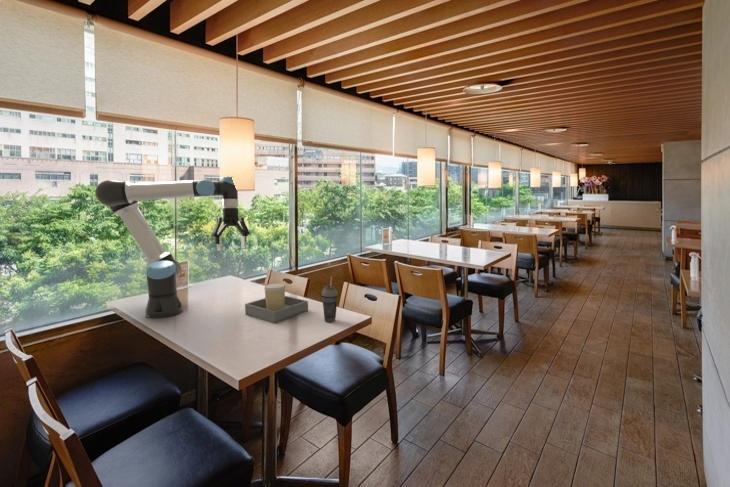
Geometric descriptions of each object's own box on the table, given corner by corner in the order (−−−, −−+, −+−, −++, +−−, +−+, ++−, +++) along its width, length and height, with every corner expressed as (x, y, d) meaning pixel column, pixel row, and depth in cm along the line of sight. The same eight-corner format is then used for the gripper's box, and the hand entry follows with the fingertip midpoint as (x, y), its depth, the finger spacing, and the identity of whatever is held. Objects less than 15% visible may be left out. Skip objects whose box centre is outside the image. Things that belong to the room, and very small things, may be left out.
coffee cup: (288, 308, 178) (287, 283, 176) (282, 314, 168) (281, 288, 167) (269, 307, 179) (268, 282, 177) (262, 313, 169) (261, 287, 168)
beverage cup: (329, 317, 168) (329, 273, 165) (341, 320, 164) (341, 275, 161) (318, 321, 163) (317, 276, 160) (330, 325, 158) (329, 278, 155)
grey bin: (275, 323, 160) (274, 312, 159) (245, 314, 171) (244, 304, 171) (308, 311, 176) (307, 301, 175) (278, 303, 188) (278, 294, 187)
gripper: (247, 208, 201) (248, 247, 203) (202, 207, 182) (204, 251, 183) (255, 207, 197) (257, 248, 198) (211, 207, 177) (212, 251, 178)
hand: (231, 249), depth 191 cm, fingers open, 13 cm apart
